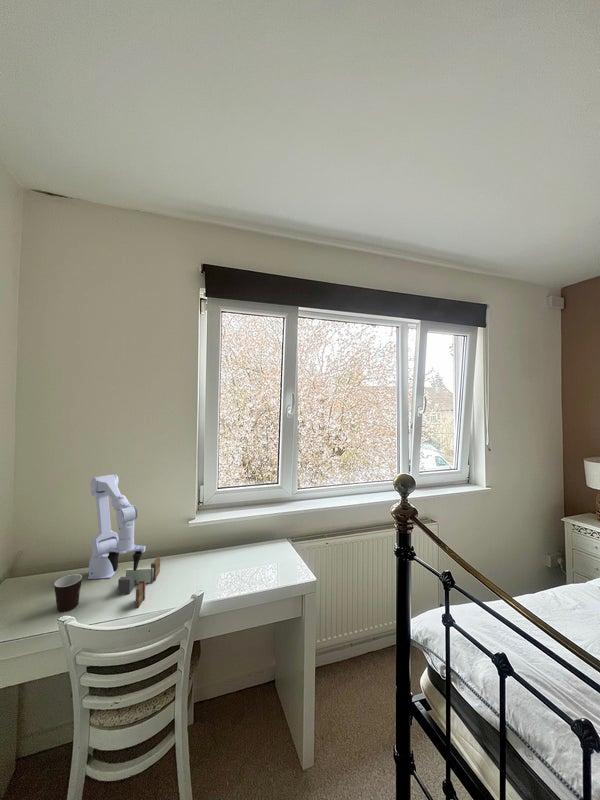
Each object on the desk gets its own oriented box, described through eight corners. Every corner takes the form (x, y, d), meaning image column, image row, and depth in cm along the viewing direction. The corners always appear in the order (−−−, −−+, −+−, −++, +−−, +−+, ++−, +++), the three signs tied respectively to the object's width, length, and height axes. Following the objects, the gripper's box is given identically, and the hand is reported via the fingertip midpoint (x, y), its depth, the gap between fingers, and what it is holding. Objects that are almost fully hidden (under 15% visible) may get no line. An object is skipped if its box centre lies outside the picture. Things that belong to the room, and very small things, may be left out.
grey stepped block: (129, 594, 129) (129, 579, 129) (118, 594, 129) (118, 580, 129) (136, 584, 136) (136, 570, 136) (125, 584, 136) (125, 570, 136)
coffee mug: (72, 614, 117) (73, 586, 117) (47, 614, 116) (48, 587, 116) (90, 594, 128) (91, 569, 128) (68, 595, 128) (68, 570, 128)
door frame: (134, 607, 121) (134, 587, 121) (156, 571, 146) (156, 555, 146) (139, 607, 121) (140, 587, 121) (160, 571, 146) (161, 555, 146)
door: (153, 581, 138) (153, 567, 138) (152, 582, 137) (153, 568, 137) (126, 582, 137) (126, 568, 137) (125, 584, 136) (125, 569, 136)
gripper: (102, 541, 125) (101, 576, 125) (141, 540, 127) (140, 574, 127) (111, 534, 132) (110, 566, 132) (147, 533, 134) (146, 565, 134)
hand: (125, 569), depth 130 cm, fingers open, 7 cm apart
